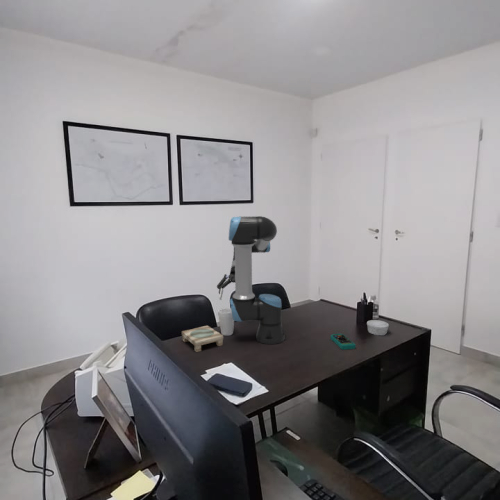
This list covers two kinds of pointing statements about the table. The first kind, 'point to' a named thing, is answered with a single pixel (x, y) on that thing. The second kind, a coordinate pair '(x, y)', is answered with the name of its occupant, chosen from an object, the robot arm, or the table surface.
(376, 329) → the ramekin
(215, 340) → the stand
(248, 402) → the table surface
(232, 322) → the foam cup
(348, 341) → the digital multimeter
